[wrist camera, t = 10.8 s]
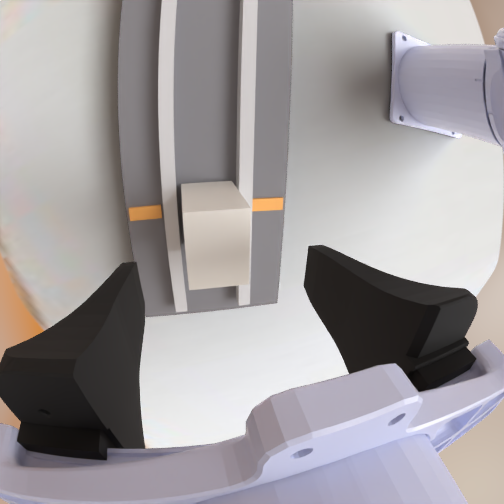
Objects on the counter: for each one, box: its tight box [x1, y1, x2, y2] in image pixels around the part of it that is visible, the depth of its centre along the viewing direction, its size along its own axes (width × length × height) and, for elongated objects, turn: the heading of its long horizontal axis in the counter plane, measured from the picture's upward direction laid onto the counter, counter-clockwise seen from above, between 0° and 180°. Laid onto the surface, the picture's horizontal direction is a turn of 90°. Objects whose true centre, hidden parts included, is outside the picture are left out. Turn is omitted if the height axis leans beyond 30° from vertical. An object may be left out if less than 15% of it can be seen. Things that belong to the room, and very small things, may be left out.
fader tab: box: [181, 181, 251, 290], centre depth 16 cm, size 3×4×5 cm
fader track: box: [118, 0, 293, 317], centre depth 15 cm, size 10×30×3 cm, turn 178°
